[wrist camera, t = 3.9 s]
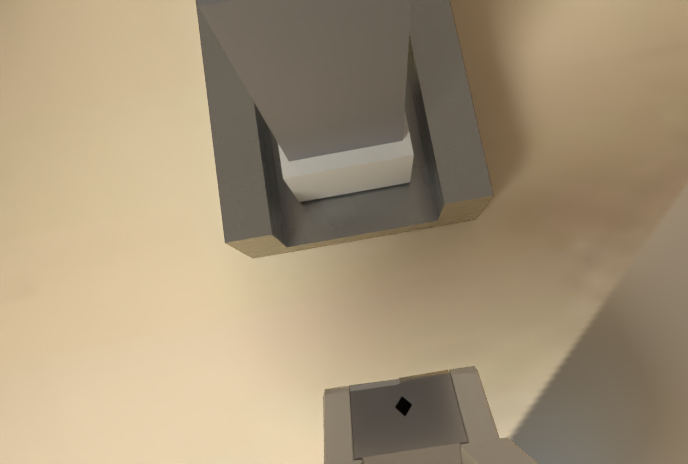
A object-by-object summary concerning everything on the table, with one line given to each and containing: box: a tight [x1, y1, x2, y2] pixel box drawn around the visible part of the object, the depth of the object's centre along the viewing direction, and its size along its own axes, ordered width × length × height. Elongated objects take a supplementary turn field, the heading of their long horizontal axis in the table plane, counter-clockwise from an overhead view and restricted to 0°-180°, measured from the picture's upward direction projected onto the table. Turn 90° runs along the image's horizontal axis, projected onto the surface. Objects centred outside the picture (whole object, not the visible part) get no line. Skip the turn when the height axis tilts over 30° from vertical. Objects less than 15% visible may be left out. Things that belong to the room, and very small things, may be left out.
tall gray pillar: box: [198, 0, 414, 202], centre depth 14 cm, size 4×4×11 cm
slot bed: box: [196, 0, 493, 258], centre depth 20 cm, size 8×17×4 cm, turn 9°
